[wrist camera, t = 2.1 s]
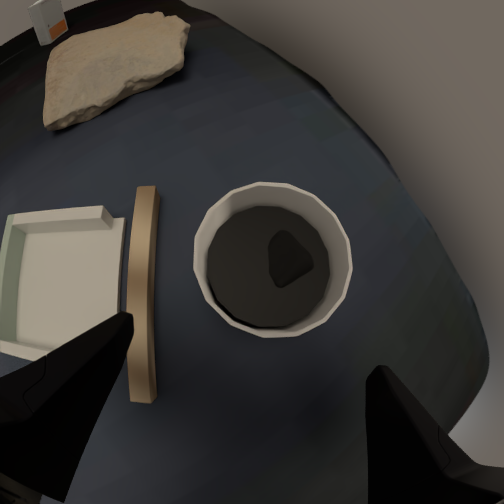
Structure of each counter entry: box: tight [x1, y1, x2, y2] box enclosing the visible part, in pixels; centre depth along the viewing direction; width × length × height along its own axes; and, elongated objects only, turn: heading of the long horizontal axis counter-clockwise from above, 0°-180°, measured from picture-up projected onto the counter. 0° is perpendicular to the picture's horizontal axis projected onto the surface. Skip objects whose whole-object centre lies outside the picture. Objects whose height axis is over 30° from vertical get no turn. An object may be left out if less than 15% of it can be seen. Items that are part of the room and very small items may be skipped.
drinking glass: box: [193, 182, 353, 338], centre depth 16 cm, size 7×7×10 cm
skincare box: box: [28, 0, 68, 46], centre depth 25 cm, size 6×4×12 cm
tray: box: [0, 206, 126, 361], centre depth 17 cm, size 12×12×3 cm
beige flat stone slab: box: [43, 12, 190, 131], centre depth 24 cm, size 24×8×20 cm
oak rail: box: [127, 186, 160, 403], centre depth 18 cm, size 16×2×2 cm, turn 3°
